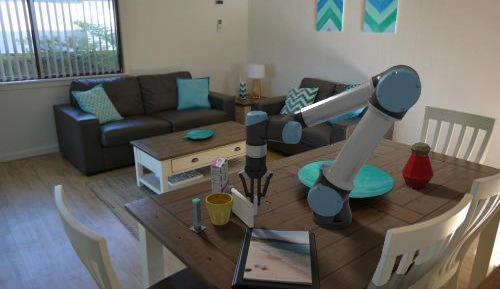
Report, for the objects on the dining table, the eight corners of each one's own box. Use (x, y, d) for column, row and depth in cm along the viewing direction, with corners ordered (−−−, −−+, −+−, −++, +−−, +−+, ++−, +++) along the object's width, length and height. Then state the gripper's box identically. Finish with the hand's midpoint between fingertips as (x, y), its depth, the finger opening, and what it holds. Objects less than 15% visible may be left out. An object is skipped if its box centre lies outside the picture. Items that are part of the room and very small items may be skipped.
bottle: (422, 194, 171) (428, 151, 164) (393, 185, 180) (398, 144, 174) (437, 185, 180) (444, 144, 174) (410, 176, 190) (415, 137, 184)
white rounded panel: (227, 207, 157) (226, 185, 154) (233, 206, 158) (232, 184, 155) (248, 228, 142) (248, 204, 139) (254, 226, 143) (254, 202, 140)
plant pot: (211, 230, 142) (210, 206, 139) (203, 217, 151) (202, 195, 148) (237, 224, 146) (237, 201, 143) (227, 212, 155) (227, 190, 152)
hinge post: (239, 209, 157) (239, 191, 155) (232, 213, 154) (231, 194, 151) (231, 206, 160) (230, 188, 157) (224, 210, 157) (223, 191, 154)
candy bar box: (218, 191, 174) (217, 157, 169) (229, 192, 173) (228, 157, 168) (211, 202, 164) (209, 166, 159) (222, 203, 163) (221, 167, 158)
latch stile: (206, 228, 143) (204, 199, 140) (197, 233, 140) (196, 203, 136) (197, 224, 146) (196, 196, 142) (189, 229, 143) (187, 200, 139)
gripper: (272, 150, 142) (271, 208, 150) (237, 151, 142) (237, 208, 149) (275, 157, 135) (273, 217, 143) (238, 158, 135) (238, 218, 142)
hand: (255, 212), depth 146 cm, fingers closed
